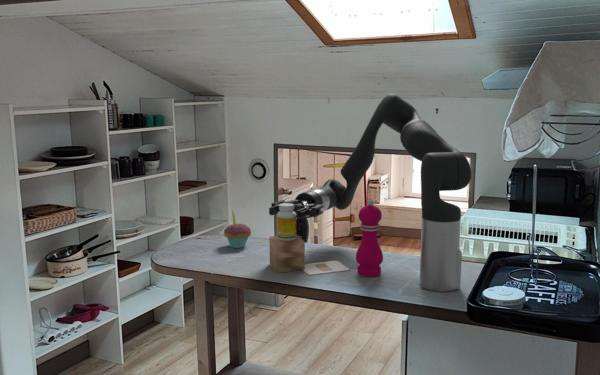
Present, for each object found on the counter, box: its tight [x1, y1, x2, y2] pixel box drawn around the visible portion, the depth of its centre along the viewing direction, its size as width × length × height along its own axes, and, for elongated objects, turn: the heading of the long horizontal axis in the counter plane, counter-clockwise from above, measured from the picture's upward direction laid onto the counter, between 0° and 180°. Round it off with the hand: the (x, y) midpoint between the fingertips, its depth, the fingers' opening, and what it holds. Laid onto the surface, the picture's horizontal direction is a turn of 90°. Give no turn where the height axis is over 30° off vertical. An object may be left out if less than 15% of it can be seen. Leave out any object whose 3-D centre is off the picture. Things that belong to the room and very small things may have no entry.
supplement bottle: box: [276, 203, 297, 241], centre depth 152 cm, size 5×5×10 cm
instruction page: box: [302, 260, 351, 276], centre depth 153 cm, size 12×9×1 cm
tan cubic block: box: [269, 234, 306, 274], centre depth 154 cm, size 8×8×8 cm
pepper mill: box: [355, 199, 384, 278], centre depth 147 cm, size 7×7×20 cm
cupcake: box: [223, 209, 252, 249], centre depth 175 cm, size 9×8×12 cm
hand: (283, 213), depth 151 cm, fingers open, 8 cm apart
